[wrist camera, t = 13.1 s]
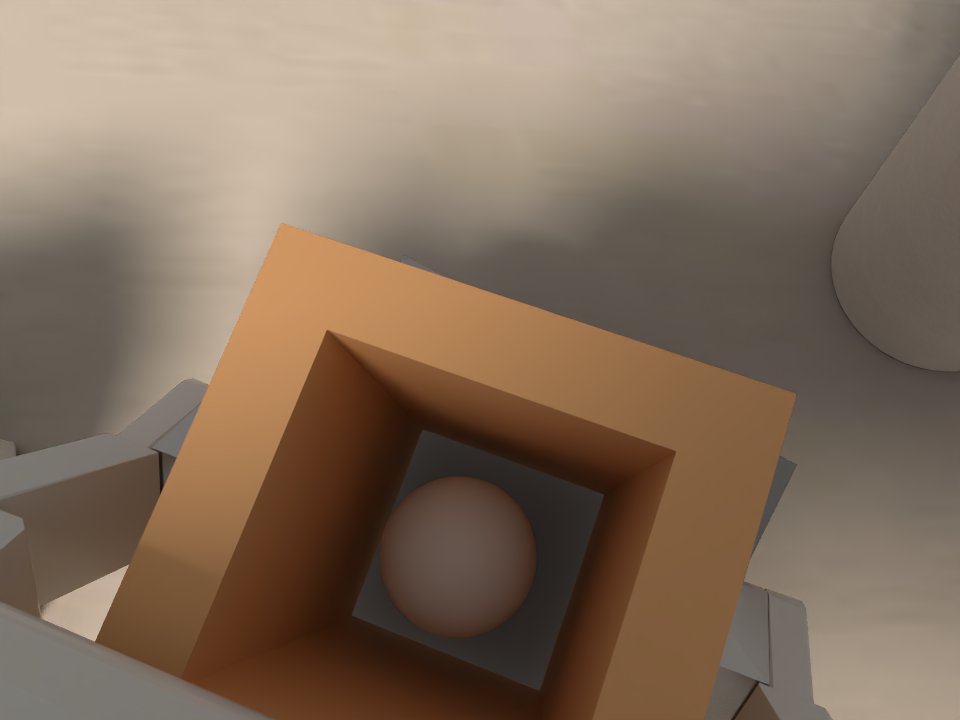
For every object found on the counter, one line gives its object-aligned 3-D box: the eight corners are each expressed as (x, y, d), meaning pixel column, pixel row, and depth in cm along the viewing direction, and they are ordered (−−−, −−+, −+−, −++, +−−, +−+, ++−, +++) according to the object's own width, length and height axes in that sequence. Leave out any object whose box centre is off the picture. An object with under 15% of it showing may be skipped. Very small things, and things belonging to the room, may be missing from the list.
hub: (720, 487, 23) (944, 421, 11) (561, 798, 22) (600, 1162, 9) (439, 332, 25) (341, 115, 12) (271, 610, 24) (-43, 691, 11)
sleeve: (666, 465, 16) (796, 393, 8) (572, 763, 15) (620, 1011, 7) (396, 370, 17) (281, 222, 9) (287, 646, 16) (46, 751, 8)
